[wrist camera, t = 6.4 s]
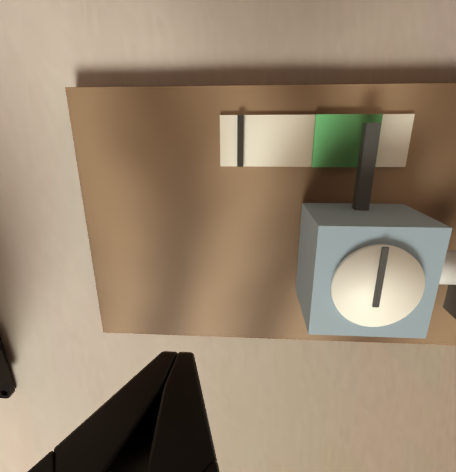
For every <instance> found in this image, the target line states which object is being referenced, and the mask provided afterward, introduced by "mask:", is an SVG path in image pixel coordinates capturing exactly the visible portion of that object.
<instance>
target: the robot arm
mask: <svg viewBox="0 0 456 472" xmlns="http://www.w3.org/2000/svg"><path fill="white" fill-rule="evenodd" d="M14 391H15V388H14V384H13V381H12V377H11V374H10V370H9V367H8V363H7V360H6V356H5V353H4V349H3V346H2V342H1V339H0V398H9V397H10V396H11V395H12V394H13V393H14ZM28 472H219V467H218V463H217V459H216V454H215V449H214V445H213V440H212V436H211V431H210V427H209V422H208V417H207V413H206V408H205V404H204V399H203V394H202V390H201V385H200V381H199V376H198V372H197V367H196V362H195V358H194V354H193V353H191V352H179V353H177V352H168V351H164V352H161V353H160V354H159V355H158V356H157V357H156V358H155V359H153V360H152V361H151V362H150V363H149V364H148V365H147V366H146V367H145V368H143V369H142V370H141V371H140V372H139V373H138V374H137V375H136V376H134V377H133V378H132V379H131V380H130V381H129V382H128V383H127V384H126V385H124V386H123V387H122V388H121V389H120V390H119V391H118V392H117V393H115V394H114V395H113V396H112V397H111V398H110V399H109V400H108V401H107V402H105V403H104V404H103V405H102V406H101V407H100V408H99V409H98V410H96V411H95V412H94V413H93V414H92V415H91V416H90V417H89V418H88V419H86V420H85V421H84V422H83V423H82V424H81V425H80V426H79V427H78V428H76V429H75V430H74V431H73V432H72V433H71V434H70V435H69V436H67V437H66V438H65V439H64V440H63V441H62V442H61V443H60V444H59V445H57V446H56V447H55V449H54V452H53V451H51V452H49V453H48V454H47V455H46V456H45V457H44V458H43V459H42V460H40V461H39V462H38V463H37V464H36V465H35V466H34V467H33V468H31V469H30V470H29V471H28Z"/></svg>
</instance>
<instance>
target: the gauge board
mask: <svg viewBox="0 0 456 472" xmlns="http://www.w3.org/2000/svg"><path fill="white" fill-rule="evenodd" d="M65 89H66V95H67V102H68V108H69V114H70V121H71V127H72V134H73V140H74V147H75V153H76V159H77V166H78V172H79V179H80V185H81V191H82V198H83V204H84V211H85V217H86V224H87V230H88V236H89V243H90V249H91V256H92V262H93V269H94V275H95V281H96V288H97V294H98V301H99V307H100V314H101V320H102V326H103V332H107V333H134V334H162V335H189V336H217V337H244V338H272V339H299V340H327V341H354V342H382V343H409V344H437V345H456V285H448V284H439V286H438V290H437V294H436V299H435V303H434V307H433V311H432V315H431V319H430V324H429V328H428V332H427V336H426V339H423V338H395V337H367V336H338V335H310V334H308V331H307V328H306V325H305V321H304V318H303V314H302V311H301V307H300V304H299V301H298V297H297V294H296V277H297V264H298V250H299V237H300V224H301V210H302V203H353V196H354V188H355V181H356V173H357V165H358V157H359V149H360V142H361V134H362V126H363V123H381V130H380V137H379V144H378V150H377V157H376V164H375V171H374V178H373V185H372V191H371V198H370V204H404V205H406V206H408V207H411V208H413V209H415V210H417V211H419V212H421V213H423V214H425V215H427V216H429V217H431V218H433V219H435V220H437V221H439V222H441V223H443V224H445V225H448V226H450V227H452V232H451V236H450V240H449V244H448V249H447V250H456V83H409V84H321V85H233V86H145V87H65Z"/></svg>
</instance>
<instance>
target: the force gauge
mask: <svg viewBox="0 0 456 472" xmlns="http://www.w3.org/2000/svg"><path fill="white" fill-rule="evenodd" d="M380 130H381V123H363V126H362V134H361V142H360V149H359V157H358V165H357V173H356V181H355V188H354V196H353V203H302V210H301V224H300V237H299V250H298V264H297V277H296V294H297V297H298V301H299V304H300V307H301V311H302V314H303V318H304V321H305V325H306V328H307V331H308V334H310V335H338V336H367V337H395V338H423V339H426V336H427V332H428V328H429V324H430V319H431V315H432V311H433V307H434V303H435V299H436V294H437V290H438V286H439V284H448V285H456V250H447V249H448V244H449V240H450V236H451V232H452V227H450V226H448V225H445V224H443V223H441V222H439V221H437V220H435V219H433V218H431V217H429V216H427V215H425V214H423V213H421V212H419V211H417V210H415V209H413V208H411V207H408V206H406V205H404V204H370V198H371V191H372V185H373V178H374V171H375V164H376V157H377V150H378V144H379V137H380Z"/></svg>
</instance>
